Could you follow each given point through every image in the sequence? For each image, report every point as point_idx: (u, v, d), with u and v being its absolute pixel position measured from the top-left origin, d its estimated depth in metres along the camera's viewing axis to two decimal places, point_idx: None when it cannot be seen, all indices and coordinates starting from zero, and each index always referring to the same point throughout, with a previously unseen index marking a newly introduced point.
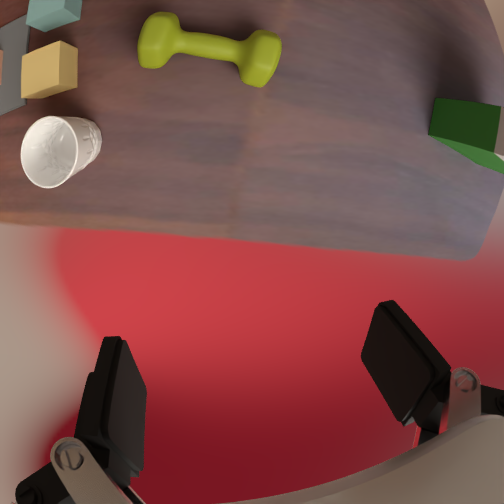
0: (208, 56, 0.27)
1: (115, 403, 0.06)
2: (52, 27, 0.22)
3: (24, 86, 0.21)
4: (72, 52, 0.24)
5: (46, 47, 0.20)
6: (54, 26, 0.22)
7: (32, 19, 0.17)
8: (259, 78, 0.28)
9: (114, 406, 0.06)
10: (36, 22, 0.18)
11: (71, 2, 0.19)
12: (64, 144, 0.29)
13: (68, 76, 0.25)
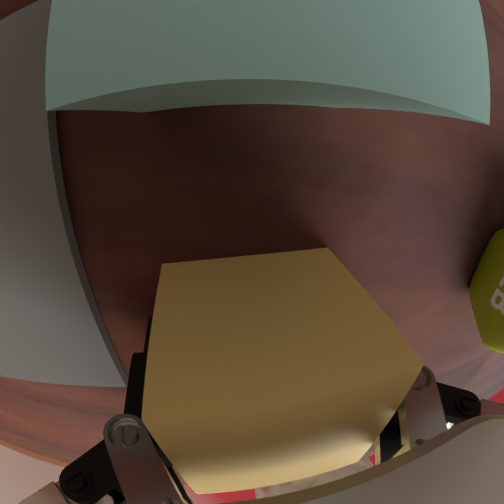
0: None
1: None
2: (201, 105, 0.07)
3: (207, 483, 0.06)
4: None
5: (345, 399, 0.05)
6: (215, 103, 0.07)
7: (143, 64, 0.02)
8: None
9: None
10: (164, 94, 0.03)
11: None
12: None
13: None
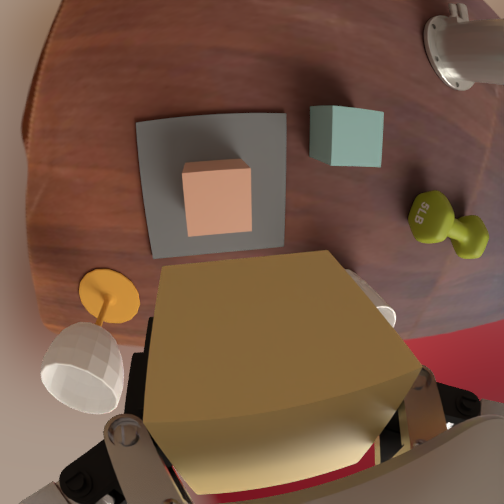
0: (451, 237, 0.36)
1: None
2: None
3: (207, 484, 0.07)
4: None
5: (344, 401, 0.05)
6: None
7: (341, 163, 0.26)
8: (469, 258, 0.38)
9: None
10: None
11: None
12: None
13: None
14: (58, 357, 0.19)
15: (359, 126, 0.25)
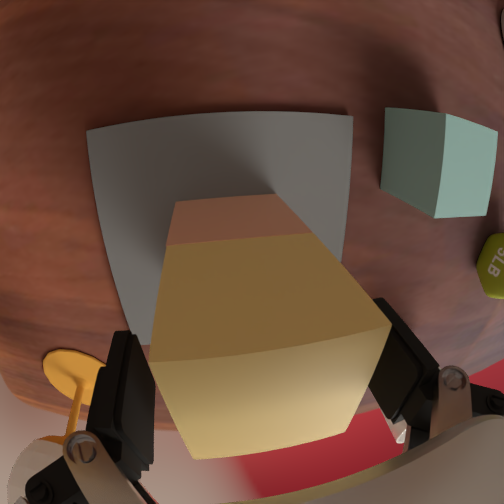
0: None
1: (127, 396, 0.07)
2: None
3: (203, 444, 0.08)
4: None
5: (321, 349, 0.06)
6: None
7: (446, 213, 0.14)
8: None
9: (127, 399, 0.07)
10: None
11: None
12: None
13: None
14: None
15: (473, 153, 0.12)
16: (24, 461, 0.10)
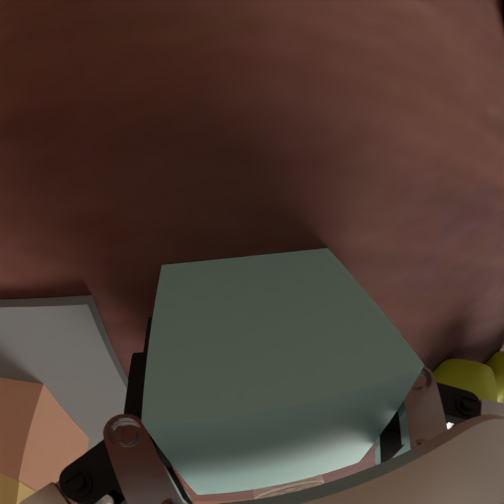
0: None
1: None
2: None
3: None
4: None
5: None
6: None
7: (227, 490, 0.07)
8: None
9: None
10: None
11: None
12: None
13: None
14: None
15: (294, 442, 0.06)
16: None
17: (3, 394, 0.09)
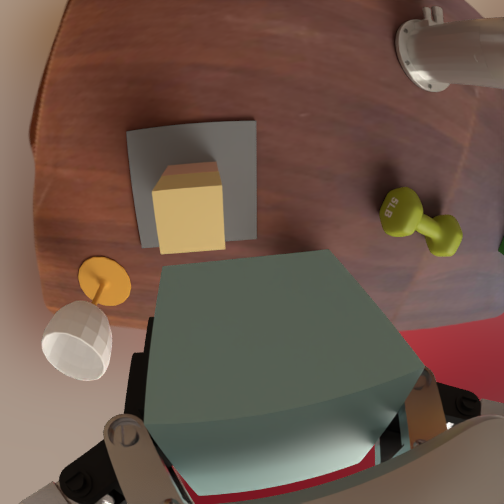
0: None
1: None
2: None
3: (164, 239, 0.25)
4: None
5: (198, 190, 0.23)
6: None
7: (228, 491, 0.07)
8: (442, 255, 0.42)
9: None
10: None
11: None
12: None
13: None
14: (57, 327, 0.24)
15: (296, 443, 0.06)
16: (63, 308, 0.28)
17: (193, 164, 0.33)
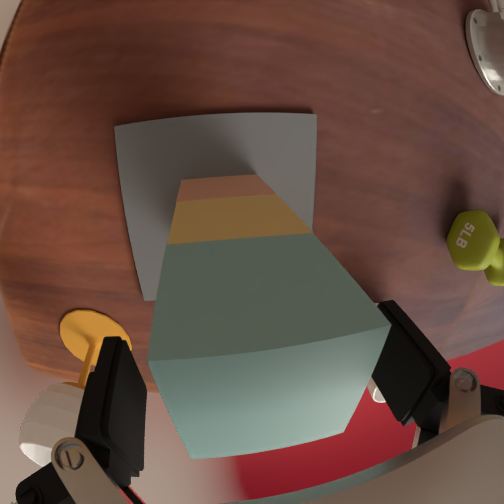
0: None
1: (115, 403, 0.06)
2: None
3: None
4: None
5: None
6: None
7: (219, 454, 0.08)
8: (501, 285, 0.30)
9: (114, 406, 0.06)
10: None
11: None
12: None
13: None
14: (35, 436, 0.12)
15: (278, 393, 0.07)
16: (40, 400, 0.15)
17: (223, 179, 0.21)
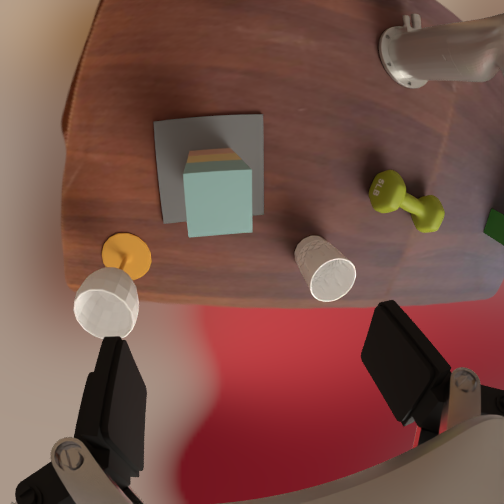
0: (408, 211, 0.47)
1: (115, 403, 0.06)
2: None
3: None
4: None
5: None
6: None
7: (200, 233, 0.26)
8: (427, 231, 0.48)
9: (114, 406, 0.06)
10: None
11: None
12: None
13: None
14: (92, 285, 0.30)
15: (219, 191, 0.25)
16: (95, 272, 0.33)
17: (211, 150, 0.39)
